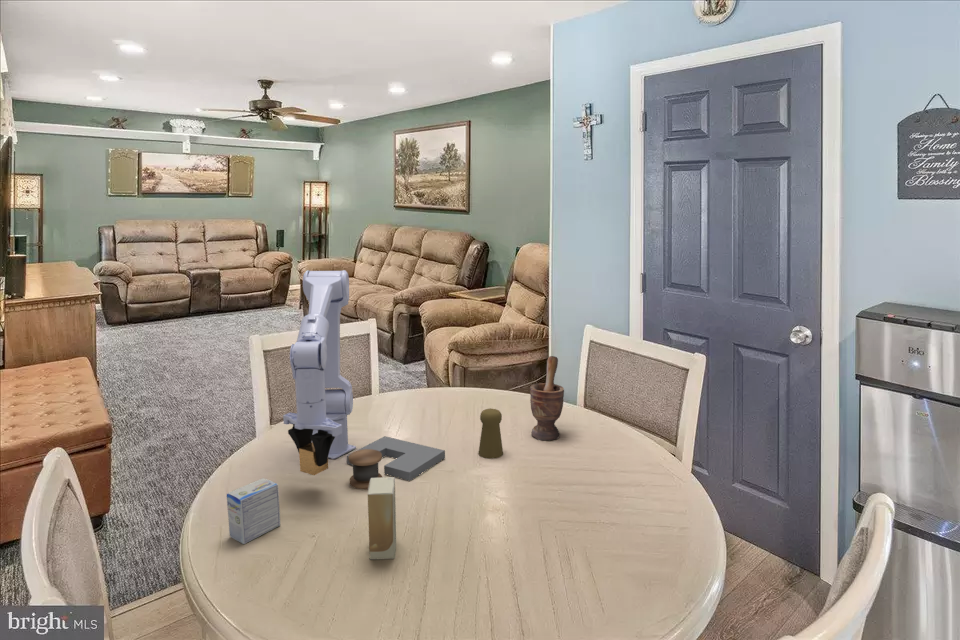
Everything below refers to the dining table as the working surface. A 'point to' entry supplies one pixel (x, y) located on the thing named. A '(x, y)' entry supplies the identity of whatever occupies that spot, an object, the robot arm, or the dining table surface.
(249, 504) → the medicine box
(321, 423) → the robot arm
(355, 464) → the bobbin
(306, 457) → the block
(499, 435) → the olive pawn
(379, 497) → the skincare box
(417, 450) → the notched board
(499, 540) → the dining table surface
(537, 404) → the mortar and pestle
